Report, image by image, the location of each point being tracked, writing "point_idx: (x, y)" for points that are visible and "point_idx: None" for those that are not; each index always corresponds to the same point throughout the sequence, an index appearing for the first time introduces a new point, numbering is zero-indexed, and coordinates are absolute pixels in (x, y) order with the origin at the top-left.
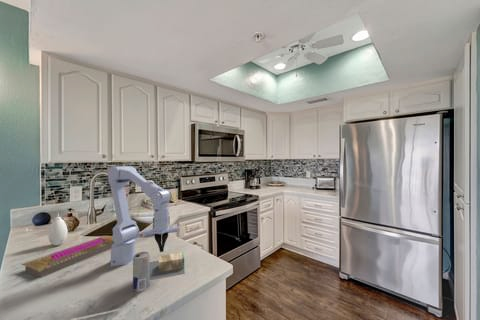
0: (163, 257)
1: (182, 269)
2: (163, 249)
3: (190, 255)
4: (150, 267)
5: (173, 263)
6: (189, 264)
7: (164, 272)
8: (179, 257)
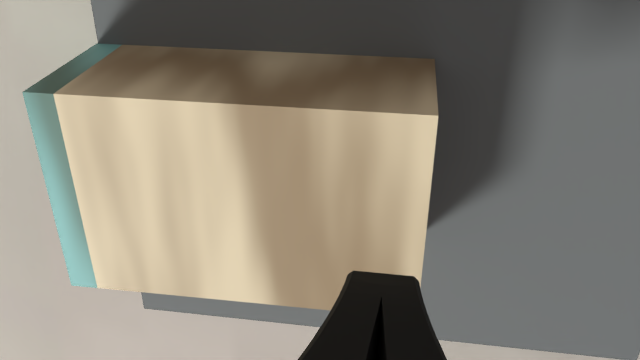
0: (361, 250)
1: (115, 4)
2: (339, 295)
3: (74, 316)
4: (536, 225)
5: (211, 80)
6: None
7: (358, 24)
8: (106, 150)
